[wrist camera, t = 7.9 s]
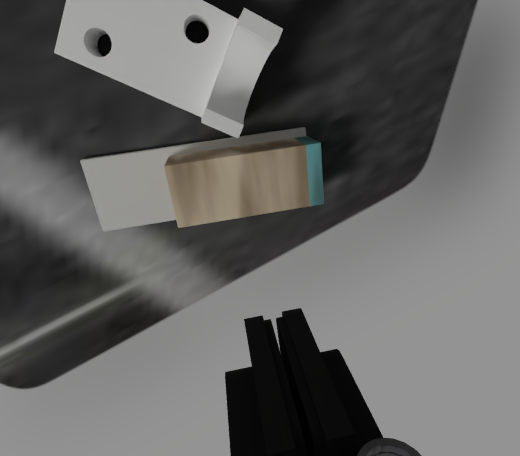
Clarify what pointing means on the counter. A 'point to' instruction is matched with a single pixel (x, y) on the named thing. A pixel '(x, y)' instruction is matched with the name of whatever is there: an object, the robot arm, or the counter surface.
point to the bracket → (173, 52)
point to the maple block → (245, 180)
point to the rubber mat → (149, 180)
